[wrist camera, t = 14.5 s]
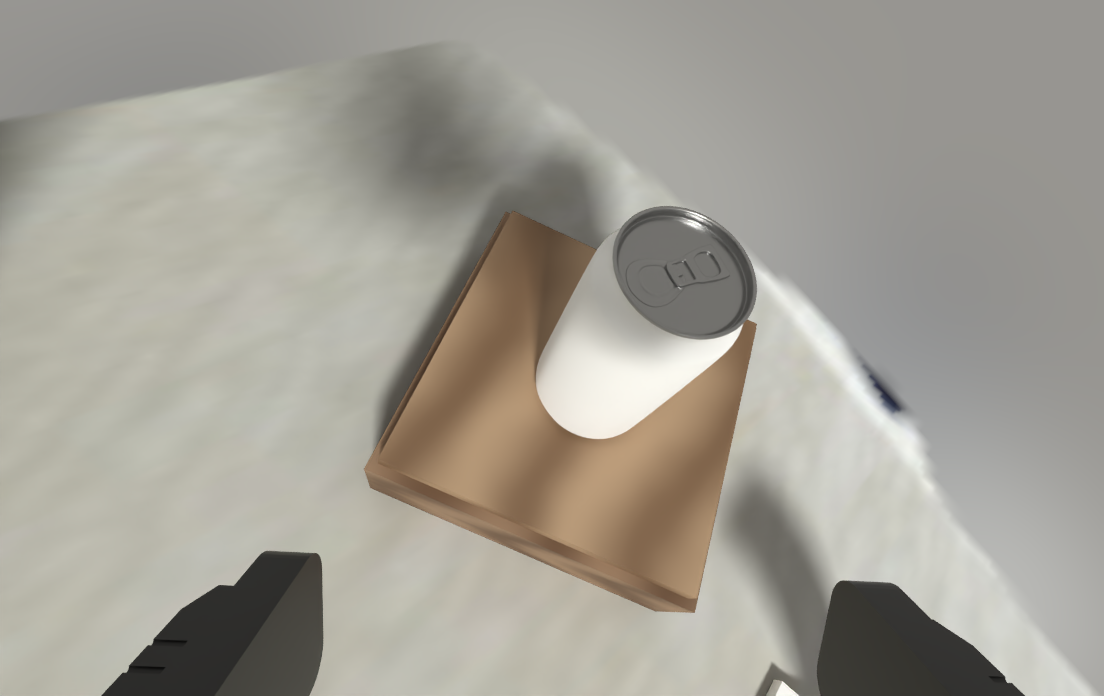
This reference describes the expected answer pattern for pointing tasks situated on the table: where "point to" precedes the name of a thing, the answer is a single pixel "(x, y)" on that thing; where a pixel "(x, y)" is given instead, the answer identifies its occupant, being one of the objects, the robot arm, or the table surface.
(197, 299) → the table surface
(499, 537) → the podium
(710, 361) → the can
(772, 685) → the white curved piece
